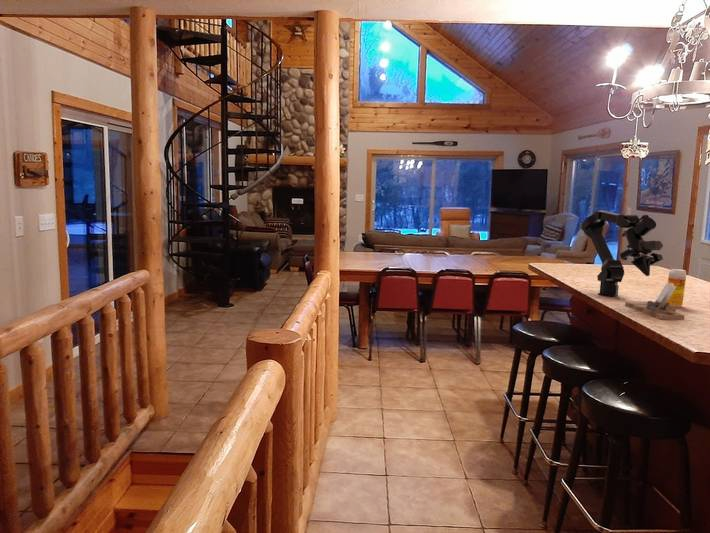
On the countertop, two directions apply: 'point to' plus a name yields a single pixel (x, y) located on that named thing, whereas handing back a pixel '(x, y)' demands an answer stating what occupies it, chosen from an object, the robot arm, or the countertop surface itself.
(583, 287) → the countertop surface
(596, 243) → the robot arm
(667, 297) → the lever
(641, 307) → the base
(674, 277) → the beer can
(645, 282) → the countertop surface
